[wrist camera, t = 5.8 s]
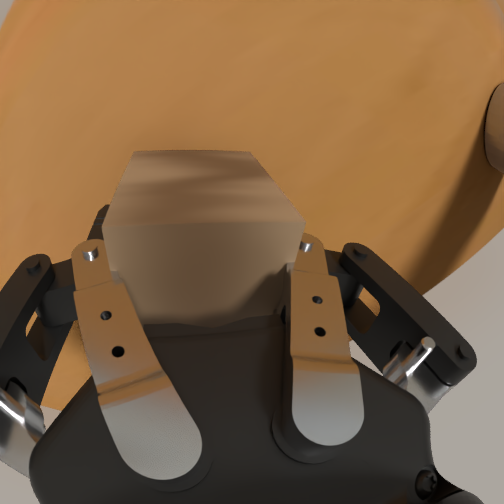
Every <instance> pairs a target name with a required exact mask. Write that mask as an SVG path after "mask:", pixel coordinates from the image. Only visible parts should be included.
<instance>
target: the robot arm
mask: <svg viewBox="0 0 504 504" xmlns="http://www.w3.org/2000/svg"><path fill="white" fill-rule="evenodd" d="M485 150H486V155H487V158H488V161H489V163H490V164H491V166H493V167H494V168H496V169H497V170H499V171H500V172H502V173H503V174H504V83H502V84H500V85H499V86H498V87H497V88H496V90H495V92H494V94H493V96H492V99H491V101H490V105H489V109H488V113H487V119H486V127H485ZM109 206H110V205H105V206H104V207H103V208H102V209H100V210H99V212H98V214H97V216H96V219H95V221H94V225H93V226H92V228H91V231H90V233H89V236H88V238H87V241H84V242H82V243H80V244H79V245H77V246H76V247H75V248H74V249H73V251H72V254H71V257H72V258H71V259H69V260H66V261H62V262H59V263H55V264H52V263H51V260H50V258H49V257H48V256H47V255H45V254H36V255H32V256H30V257H28V258H27V259H25V260H24V261H23V262H22V263H21V264H20V265H19V267H18V268H17V269H16V271H15V272H14V273H13V275H12V276H11V277H10V279H9V280H8V281H7V283H6V284H5V286H4V287H3V288H2V290H1V291H0V460H1V461H2V462H4V463H5V464H7V465H8V466H10V467H12V468H13V469H15V470H16V471H18V472H20V473H21V474H23V475H25V476H26V477H28V478H30V482H31V486H32V488H33V491H34V493H35V495H36V497H37V499H38V501H39V502H40V504H484V503H483V502H482V501H481V500H480V499H479V498H478V497H477V496H475V495H474V494H472V493H470V492H467V491H465V490H462V489H460V488H458V487H456V486H455V485H453V484H451V483H450V482H448V481H447V480H445V479H444V478H443V477H442V476H441V475H440V474H439V473H438V471H437V470H436V468H435V465H434V462H433V457H432V451H431V442H430V423H429V418H428V415H427V414H428V413H429V412H430V411H431V410H432V409H433V408H434V406H435V405H436V404H437V403H438V402H439V400H440V399H441V398H442V397H443V396H444V395H445V394H446V393H447V392H449V391H450V390H451V389H452V388H453V387H455V386H456V385H457V384H458V383H459V382H460V381H461V380H462V379H464V378H465V377H466V376H467V375H468V374H469V373H470V372H471V371H472V370H473V369H474V368H475V367H476V363H477V358H476V354H475V352H474V350H473V348H472V347H471V345H470V344H469V343H468V342H467V341H466V340H465V339H464V338H463V337H462V336H461V335H460V334H459V332H458V331H457V330H456V329H455V328H454V327H453V326H452V325H451V324H450V323H449V322H448V321H447V320H446V319H445V318H444V317H443V316H442V315H441V314H440V313H439V312H438V311H437V310H436V309H435V308H434V307H433V306H432V305H431V304H430V303H429V302H428V301H427V300H426V299H425V298H424V297H423V296H422V295H421V294H419V293H418V292H417V291H416V290H415V289H414V288H413V287H412V286H411V285H410V284H409V283H408V282H407V281H406V280H404V279H403V278H402V277H401V276H400V275H399V274H398V273H397V272H396V271H395V270H393V269H392V268H391V267H390V266H389V265H388V264H387V263H386V262H384V261H383V260H382V259H381V258H380V257H379V256H377V255H376V254H375V253H374V252H373V251H372V250H370V249H369V248H368V247H366V246H364V245H362V244H359V243H347V244H345V245H344V248H343V250H342V253H341V252H335V251H330V250H325V249H324V246H323V244H322V242H321V241H320V240H319V239H318V238H316V237H314V236H312V235H310V234H306V233H303V235H302V239H301V242H300V246H299V249H298V253H297V256H296V260H295V262H288V263H287V264H286V267H285V271H284V275H283V289H282V294H281V298H280V302H279V305H278V308H277V309H274V310H273V314H272V315H265V316H256V317H247V318H244V319H241V320H238V321H235V322H232V323H229V324H225V325H222V326H219V327H214V328H211V327H203V326H195V325H188V324H181V323H168V324H145V325H143V328H142V326H141V323H140V321H139V319H138V317H137V314H136V312H135V309H134V307H133V305H132V302H131V300H130V297H129V295H128V292H127V290H126V287H125V284H124V282H123V279H122V278H120V277H119V274H118V271H110V267H109V262H108V258H107V253H106V248H105V243H104V238H103V232H102V224H103V222H104V219H105V217H106V214H107V211H108V209H109ZM363 287H364V288H365V289H366V290H367V291H368V292H369V293H370V294H371V295H372V296H373V297H374V298H375V299H376V300H377V301H378V302H379V305H380V313H379V314H378V316H376V315H375V314H374V313H373V312H372V311H371V310H370V309H369V308H368V307H367V306H366V305H365V304H364V303H363V302H362V301H361V300H360V299H359V298H358V297H359V295H360V293H361V291H362V289H363ZM34 311H35V312H36V313H37V315H38V316H37V318H36V320H35V322H34V324H33V325H32V327H31V329H30V331H29V333H28V335H27V337H26V326H27V324H28V322H29V320H30V318H31V317H32V315H33V313H34ZM75 320H78V321H79V326H80V331H81V335H82V339H83V343H84V347H85V351H86V355H87V359H88V362H89V366H90V369H91V372H92V375H91V377H90V378H89V379H88V380H87V381H86V382H85V384H84V385H83V386H82V387H81V388H80V390H79V391H78V392H77V393H76V394H75V396H74V397H73V398H72V399H71V401H70V402H69V403H68V404H67V405H66V407H65V408H64V409H63V410H62V412H61V413H60V414H59V415H58V417H57V418H56V419H55V420H54V422H53V423H52V424H51V425H50V427H49V428H48V429H47V430H46V429H45V425H44V417H43V413H42V410H41V408H40V405H41V402H42V399H43V396H44V393H45V390H46V387H47V384H48V382H49V379H50V376H51V374H52V371H53V368H54V366H55V363H56V361H57V359H58V356H59V354H60V351H61V349H62V347H63V344H64V342H65V340H66V338H67V335H68V333H69V331H70V329H71V327H72V324H73V321H75ZM347 333H348V334H349V336H350V337H351V338H352V339H353V340H354V341H355V342H356V344H357V345H358V346H359V347H360V348H361V349H362V351H363V352H364V353H365V354H366V355H367V356H368V358H369V359H370V360H371V361H372V362H373V364H374V365H375V366H376V367H377V368H378V369H379V371H380V372H381V373H382V374H383V376H381V375H380V374H378V373H376V372H375V371H373V370H372V369H370V368H368V367H367V366H365V365H363V364H362V363H360V362H358V361H357V360H355V359H354V358H352V357H351V354H350V347H349V340H348V334H347ZM45 430H46V432H45Z"/></svg>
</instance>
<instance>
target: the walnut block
mask: <svg viewBox="0 0 504 504" xmlns="http://www.w3.org/2000/svg"><path fill="white" fill-rule="evenodd" d="M305 224H306V221H305V220H304V219H303V217H302V216H301V215H300V213H299V212H298V211H297V210H296V208H295V207H294V206H293V204H292V203H291V202H290V201H289V199H288V198H287V197H286V195H285V194H284V193H283V192H282V190H281V189H280V188H279V187H278V185H277V184H276V183H275V182H274V180H273V179H272V178H271V177H270V175H269V174H268V173H267V172H266V171H265V169H264V168H263V167H262V166H261V164H260V163H259V162H258V161H257V160H256V158H255V157H254V156H253V155H252V154H251V152H242V151H217V150H160V151H135V152H134V153H133V155H132V157H131V159H130V161H129V163H128V165H127V167H126V169H125V171H124V174H123V176H122V178H121V180H120V183H119V185H118V187H117V189H116V192H115V194H114V196H113V199H112V201H111V204H110V206H109V209H108V211H107V214H106V217H105V219H104V222H103V224H102V232H103V238H104V243H105V248H106V253H107V258H108V262H109V267H110V271H118V274H119V277H120V278H122V279H123V282H124V284H125V287H126V290H127V292H128V295H129V297H130V300H131V302H132V305H133V307H134V309H135V312H136V314H137V317H138V319H139V321H140V323H141V326H142V328H143V325H145V324H168V323H181V324H188V325H195V326H203V327H211V328H214V327H219V326H222V325H225V324H229V323H232V322H235V321H238V320H241V319H244V318H247V317H256V316H265V315H272V314H273V310H274V309H277V308H278V305H279V302H280V298H281V294H282V289H283V275H284V271H285V267H286V264H287V263H288V262H295V260H296V256H297V253H298V249H299V246H300V242H301V239H302V235H303V231H304V228H305Z"/></svg>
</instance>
